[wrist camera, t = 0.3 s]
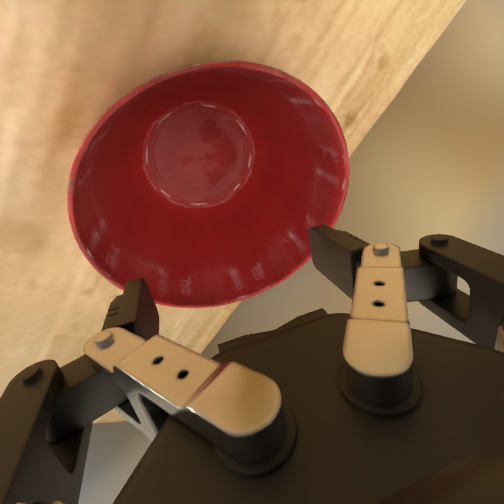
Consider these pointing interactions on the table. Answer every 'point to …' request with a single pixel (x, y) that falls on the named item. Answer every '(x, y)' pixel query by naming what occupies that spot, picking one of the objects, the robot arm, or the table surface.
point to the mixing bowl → (208, 183)
